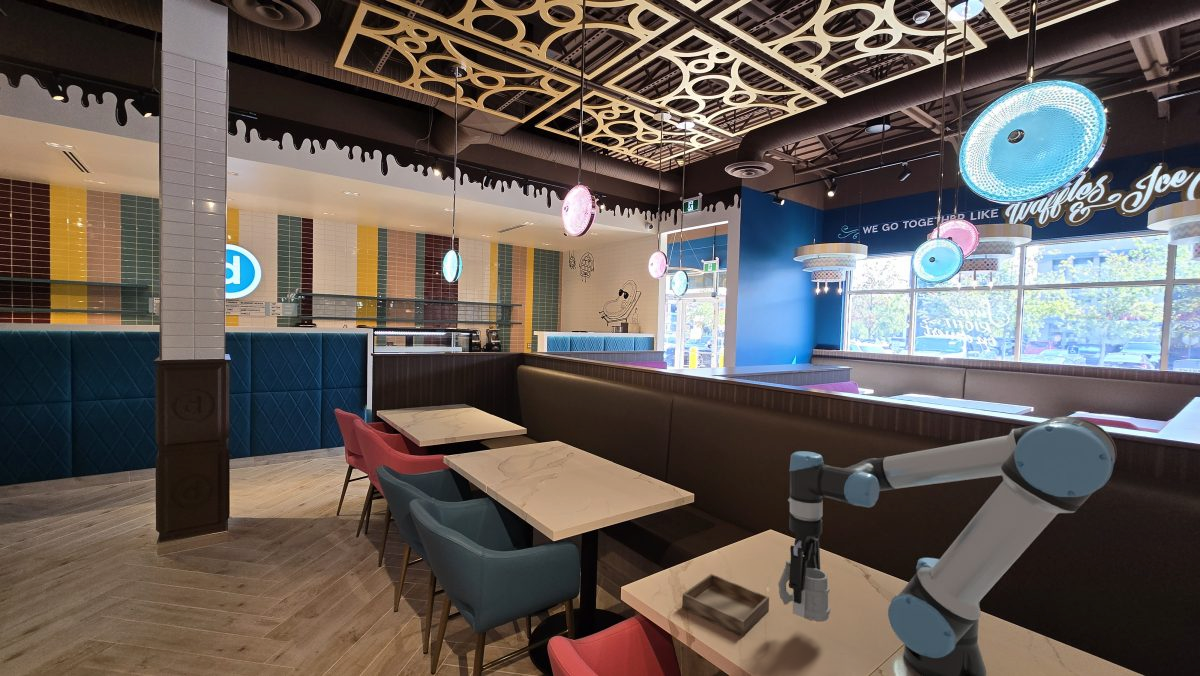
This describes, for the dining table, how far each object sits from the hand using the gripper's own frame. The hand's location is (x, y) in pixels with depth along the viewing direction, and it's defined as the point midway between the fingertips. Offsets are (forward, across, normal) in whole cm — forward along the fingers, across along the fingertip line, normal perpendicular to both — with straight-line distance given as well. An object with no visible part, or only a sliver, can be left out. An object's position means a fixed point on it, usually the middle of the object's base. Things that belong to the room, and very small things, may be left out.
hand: (804, 607), depth 121 cm
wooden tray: (+6, +5, -19) cm, 20 cm away
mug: (+1, +1, 0) cm, 1 cm away
